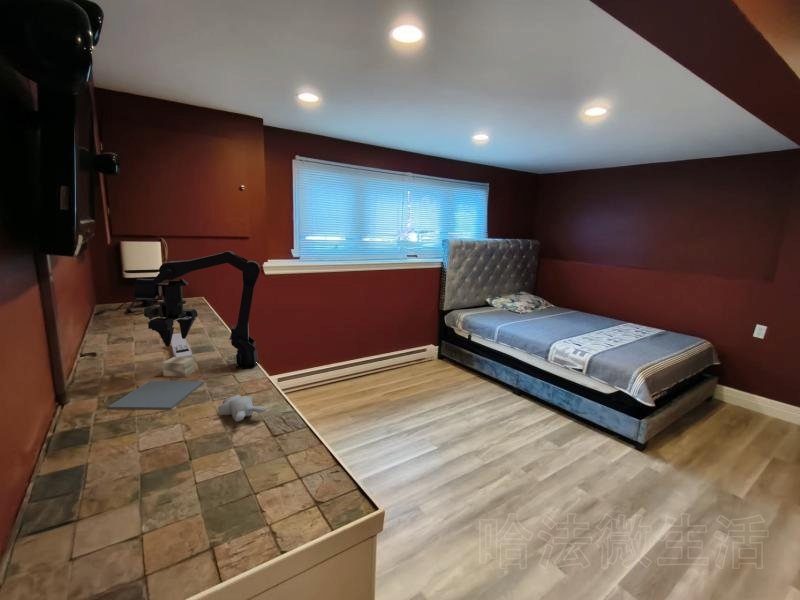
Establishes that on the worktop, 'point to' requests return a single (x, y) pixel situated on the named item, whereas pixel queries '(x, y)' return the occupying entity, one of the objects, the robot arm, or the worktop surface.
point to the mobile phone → (180, 346)
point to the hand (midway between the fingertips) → (176, 342)
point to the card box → (178, 366)
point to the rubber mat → (157, 395)
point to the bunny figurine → (239, 407)
